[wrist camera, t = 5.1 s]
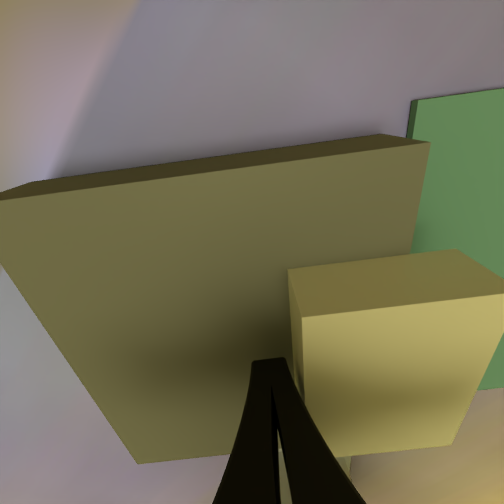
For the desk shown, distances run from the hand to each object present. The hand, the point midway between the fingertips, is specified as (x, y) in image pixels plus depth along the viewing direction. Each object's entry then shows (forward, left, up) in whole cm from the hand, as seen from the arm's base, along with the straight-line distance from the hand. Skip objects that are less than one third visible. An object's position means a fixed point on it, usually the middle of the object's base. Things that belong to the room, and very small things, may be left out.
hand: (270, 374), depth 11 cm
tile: (0, -4, 0) cm, 4 cm away
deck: (0, +1, -4) cm, 4 cm away
